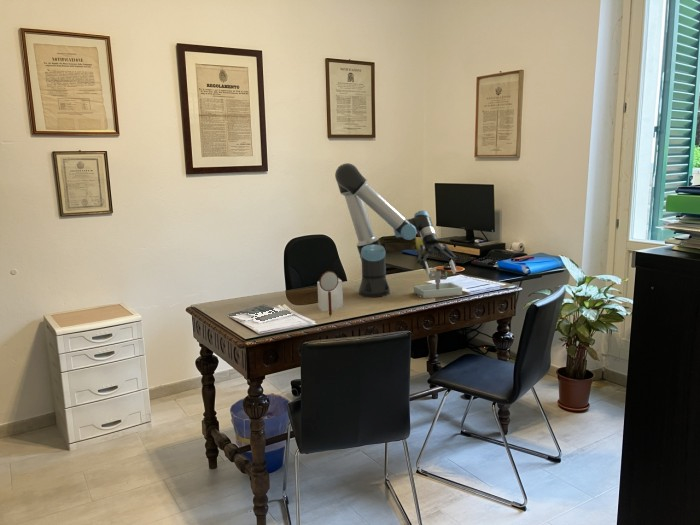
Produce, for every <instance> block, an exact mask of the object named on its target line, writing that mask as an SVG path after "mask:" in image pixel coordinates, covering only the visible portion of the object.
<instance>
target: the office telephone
mask: <svg viewBox="0 0 700 525" xmlns="http://www.w3.org/2000/svg"><path fill="white" fill-rule="evenodd" d="M274 308H275V307H273V306H270V305H267V304H265V303H264V304H263V303H262V304H259V305H256V306H252V307H247V308H244V309H242V310H239V311H235V312H230V313H228V314H227V316H228V315H229V316H228V317H230V316H237V315H236V314H239V315H241V314H240V313H243V314H244V313H249V314H255V313H256V314H255V315H258V314H257V313H259V312H261V313H262V314H263V312H266V311H269V310H272V311H274V312H275V313H274V312H272V311H269V312H268V313H271V312H272V314H268V315H264V316H261V317H257V316H255V317H257V318H255V319H256V320H260V321H265V320H268V319H272V318H276V317H279V316H283V315H287V314H291V313H292V312H291V311H290V310H289V309H281V310H282V311H279V312H278V311H275V310H273V309H274ZM253 317H254V316H251V318H253Z"/></svg>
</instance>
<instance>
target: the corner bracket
mask: <svg viewBox="0 0 700 525" xmlns="http://www.w3.org/2000/svg"><path fill="white" fill-rule="evenodd" d="M316 284H317V302H318V304H317V305H318V308H319V310H320V311H321V312H323V313H324V312H325V313H326V312H329V303H328V291H325V290H323V289H322V288H321V287H320V284H319V281H317V283H316ZM330 292H331V308H332V312H333V311H339V308H342V307H344V300H343V298H344V297H343V295H344V294H343V293H344V292H343V280H342V279H341V278H339V277H338V285H337V286H336V288H335V289H334V290H332V291H330Z"/></svg>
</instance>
